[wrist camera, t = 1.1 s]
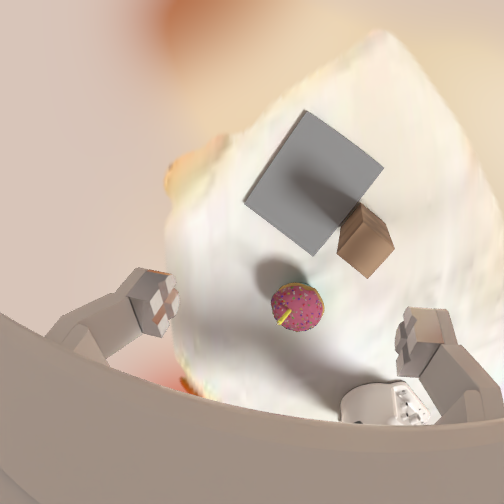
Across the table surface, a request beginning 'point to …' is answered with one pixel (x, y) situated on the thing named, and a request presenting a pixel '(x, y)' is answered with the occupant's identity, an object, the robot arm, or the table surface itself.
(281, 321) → the cupcake
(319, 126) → the mat
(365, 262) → the walnut block
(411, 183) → the table surface
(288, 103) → the table surface
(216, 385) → the table surface
